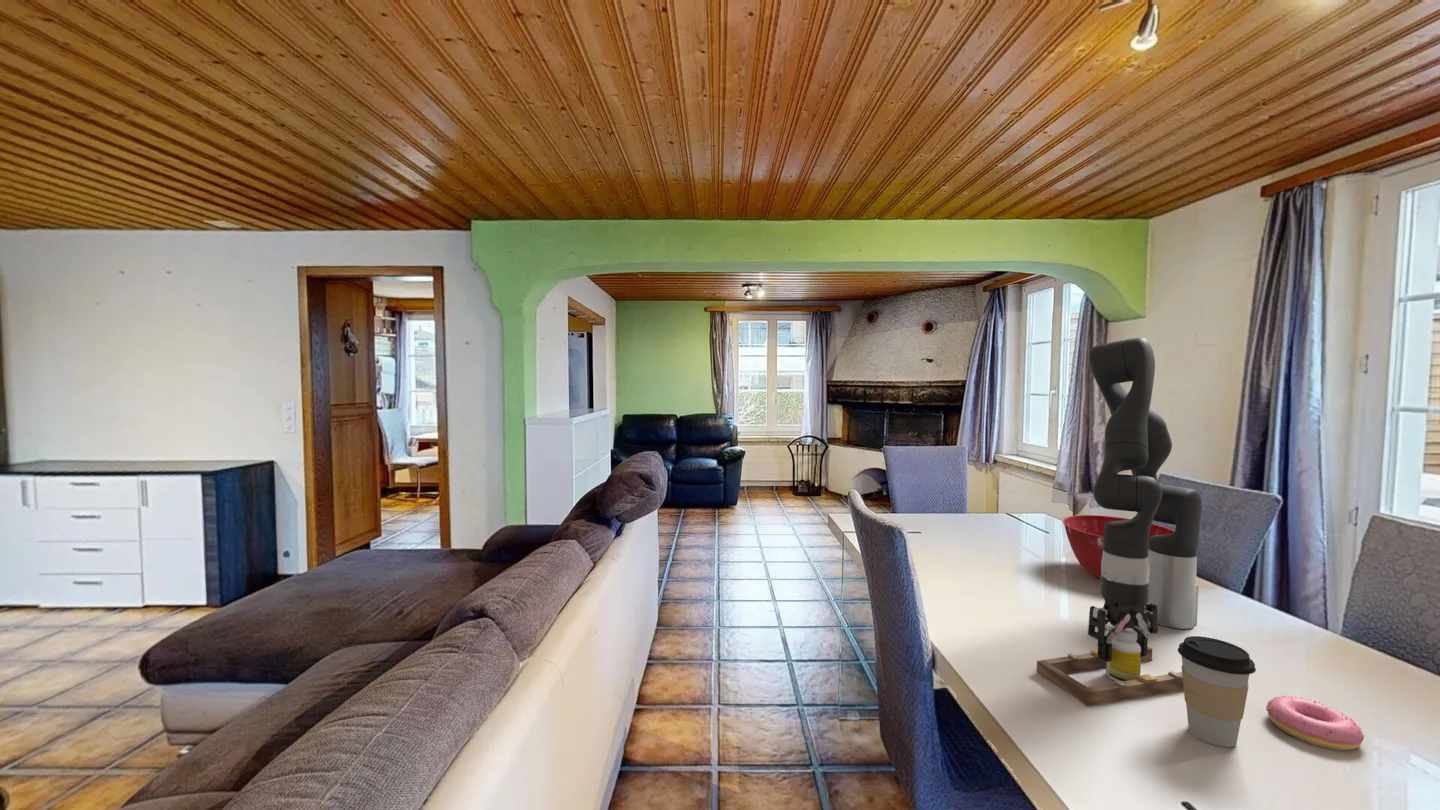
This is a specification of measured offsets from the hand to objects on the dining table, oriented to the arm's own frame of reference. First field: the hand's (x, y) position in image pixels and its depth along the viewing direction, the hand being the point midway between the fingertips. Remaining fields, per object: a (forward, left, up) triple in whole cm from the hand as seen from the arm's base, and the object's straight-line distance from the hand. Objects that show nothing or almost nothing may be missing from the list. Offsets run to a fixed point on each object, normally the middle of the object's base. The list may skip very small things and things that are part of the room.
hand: (1122, 657), depth 106 cm
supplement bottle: (0, 0, -5) cm, 5 cm away
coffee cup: (+2, +17, -5) cm, 18 cm away
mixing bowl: (-52, -45, -5) cm, 69 cm away
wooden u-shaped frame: (0, 0, -4) cm, 4 cm away
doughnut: (-15, +20, -5) cm, 26 cm away
